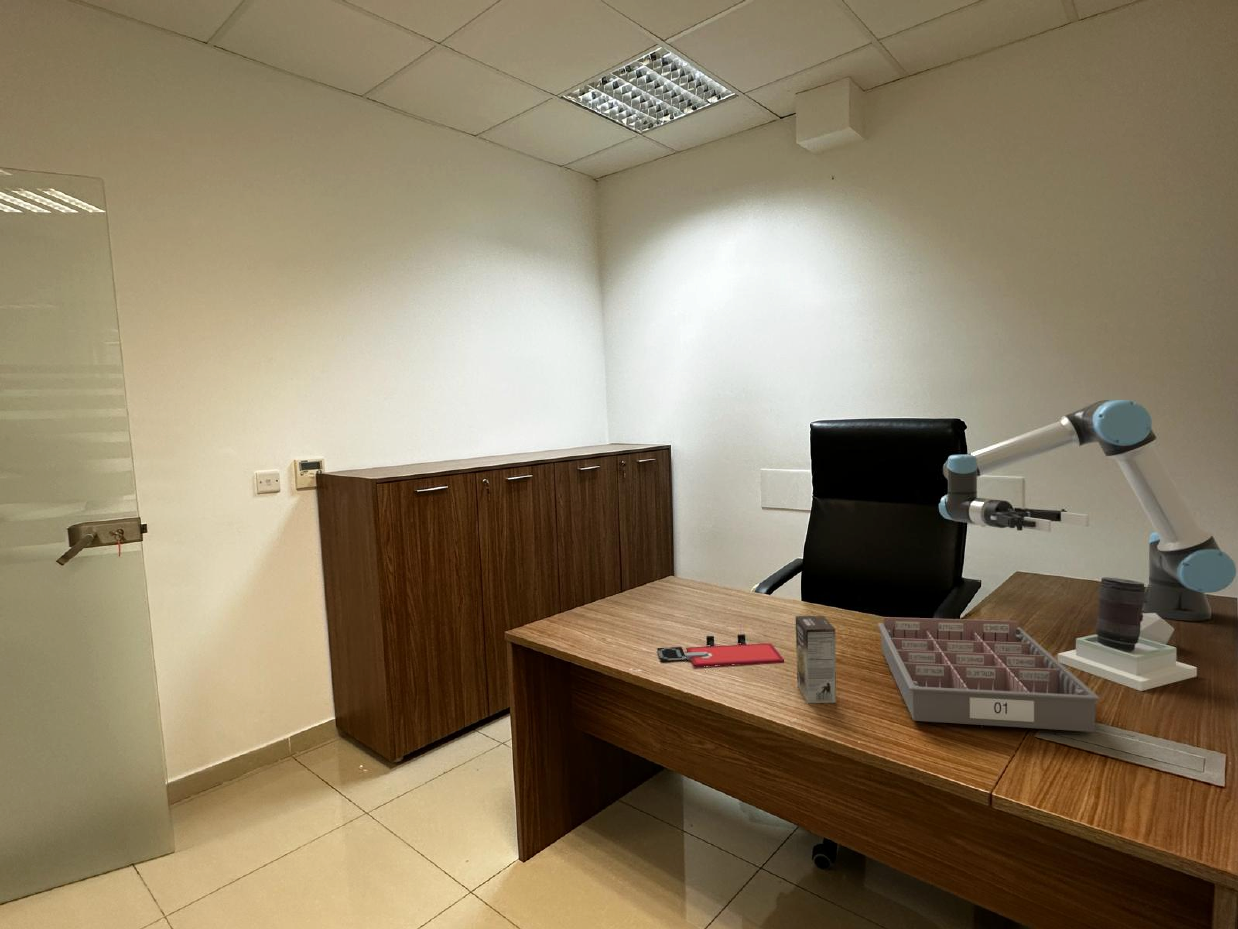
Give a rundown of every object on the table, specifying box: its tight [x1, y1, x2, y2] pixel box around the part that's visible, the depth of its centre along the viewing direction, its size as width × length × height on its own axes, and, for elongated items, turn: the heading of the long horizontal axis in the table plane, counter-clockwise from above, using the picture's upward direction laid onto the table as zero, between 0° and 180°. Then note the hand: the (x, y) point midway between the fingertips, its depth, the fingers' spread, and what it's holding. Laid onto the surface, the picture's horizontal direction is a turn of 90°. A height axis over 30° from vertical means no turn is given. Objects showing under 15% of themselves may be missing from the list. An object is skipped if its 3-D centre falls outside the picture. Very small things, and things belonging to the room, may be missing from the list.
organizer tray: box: [877, 616, 1102, 733], centre depth 140 cm, size 32×40×10 cm
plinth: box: [1057, 633, 1198, 692], centre depth 147 cm, size 18×18×6 cm
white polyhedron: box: [1139, 612, 1175, 645], centre depth 161 cm, size 8×9×10 cm
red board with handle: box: [656, 633, 785, 668], centre depth 167 cm, size 30×3×15 cm
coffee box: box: [795, 615, 837, 704], centre depth 141 cm, size 9×6×16 cm
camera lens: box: [1095, 576, 1146, 651], centre depth 147 cm, size 8×8×15 cm
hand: (1069, 523), depth 161 cm, fingers open, 13 cm apart
